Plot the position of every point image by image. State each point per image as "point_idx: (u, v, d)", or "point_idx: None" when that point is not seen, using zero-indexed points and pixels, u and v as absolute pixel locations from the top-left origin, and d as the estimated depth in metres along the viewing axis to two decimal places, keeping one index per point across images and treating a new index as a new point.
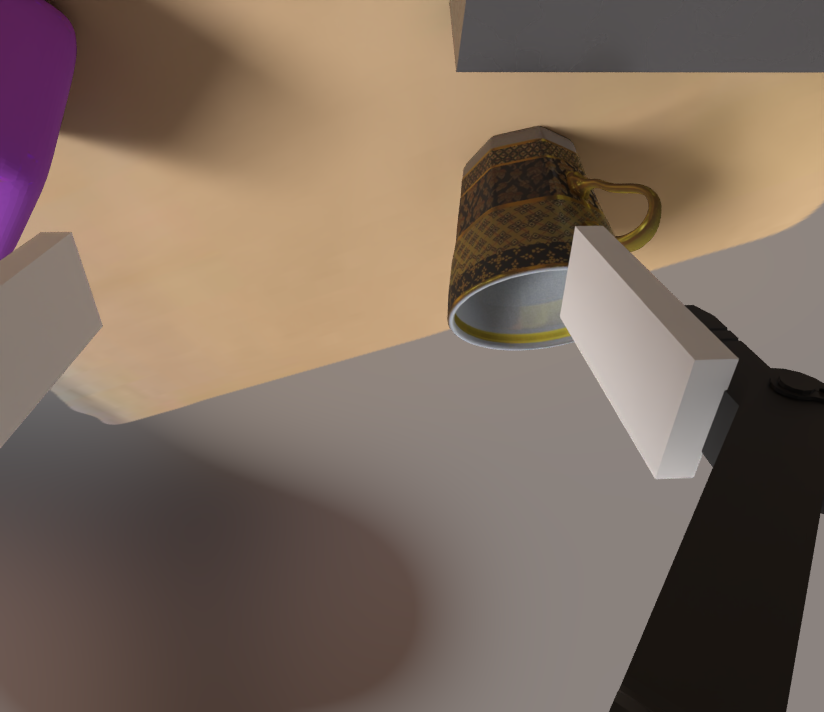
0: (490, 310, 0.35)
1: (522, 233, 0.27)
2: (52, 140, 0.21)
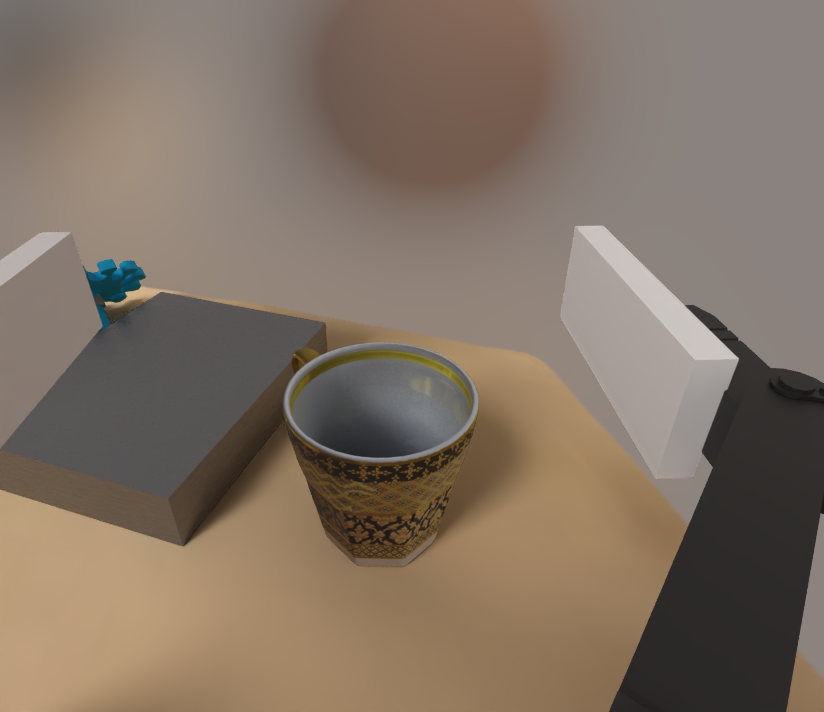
0: None
1: None
2: None
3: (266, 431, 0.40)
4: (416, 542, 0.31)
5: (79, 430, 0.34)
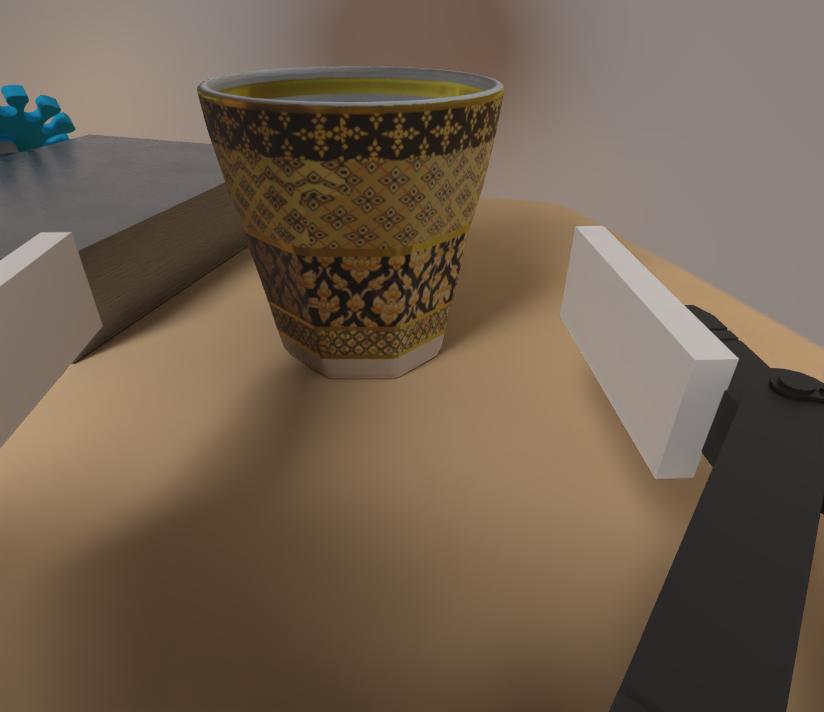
0: None
1: None
2: None
3: (210, 256, 0.30)
4: (413, 333, 0.21)
5: None
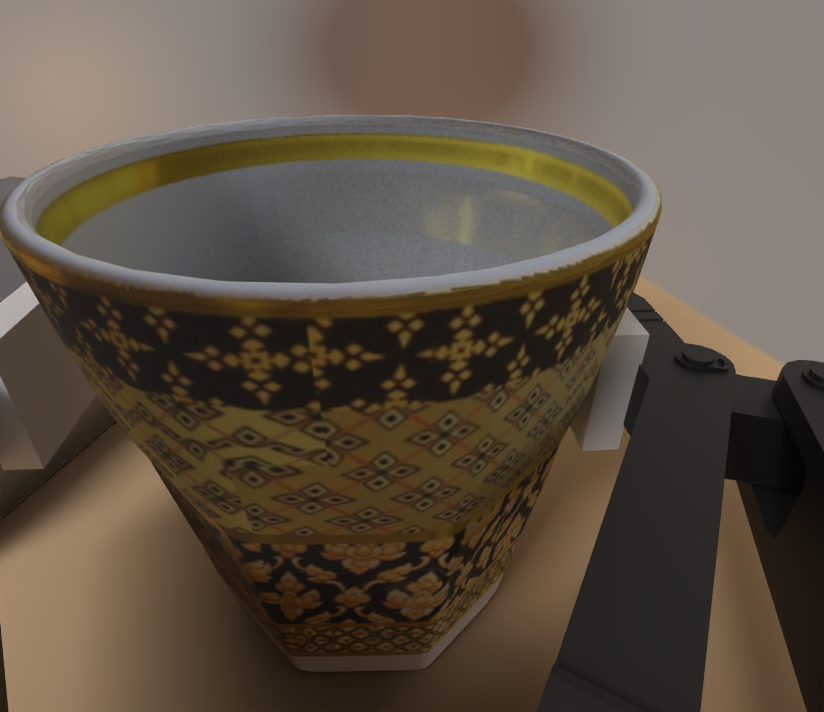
0: None
1: None
2: None
3: None
4: (458, 608, 0.11)
5: None
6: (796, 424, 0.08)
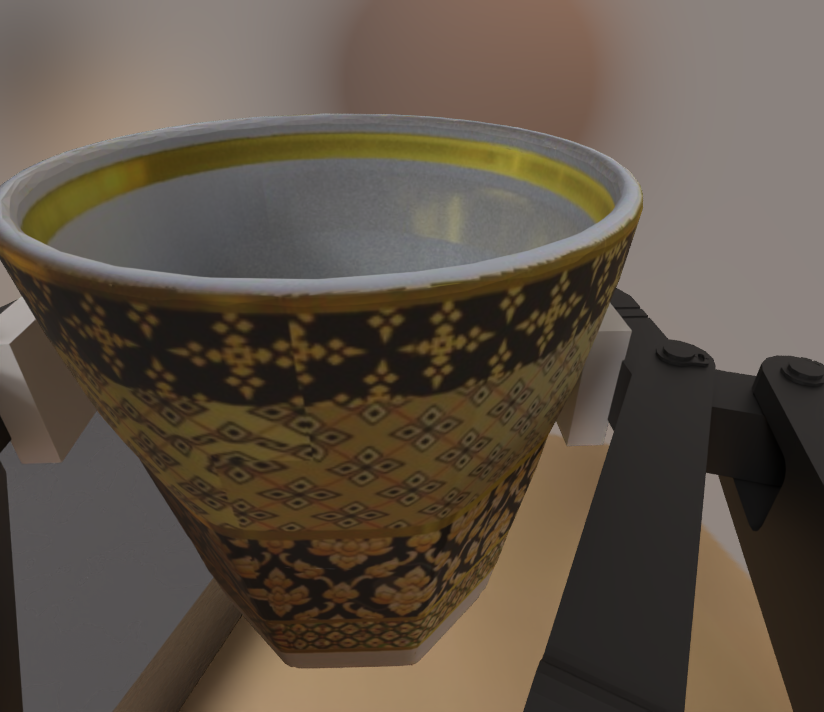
0: None
1: None
2: None
3: None
4: (447, 603, 0.11)
5: None
6: (773, 418, 0.08)
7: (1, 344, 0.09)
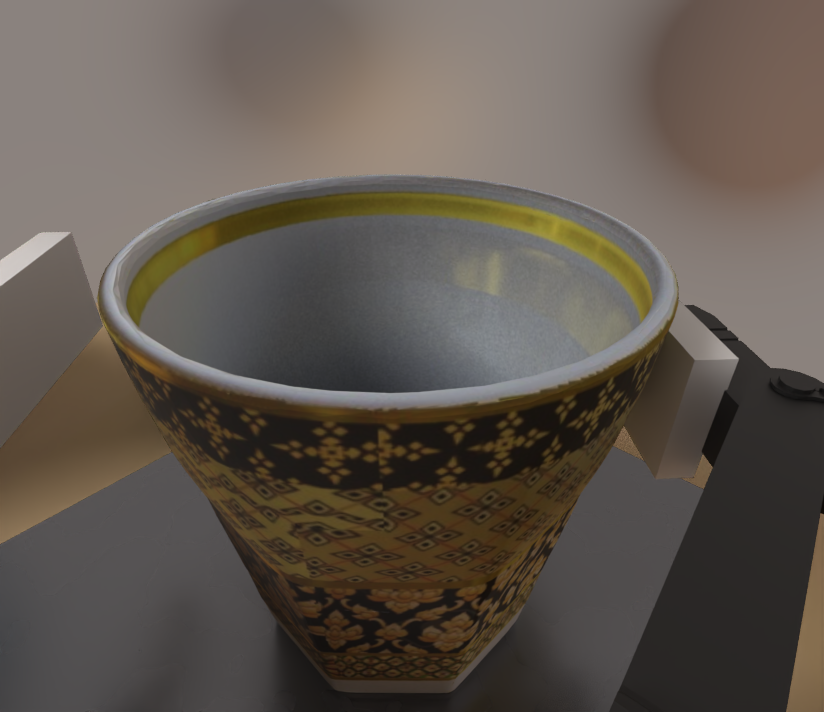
0: None
1: None
2: None
3: None
4: (484, 639, 0.12)
5: None
6: None
7: None
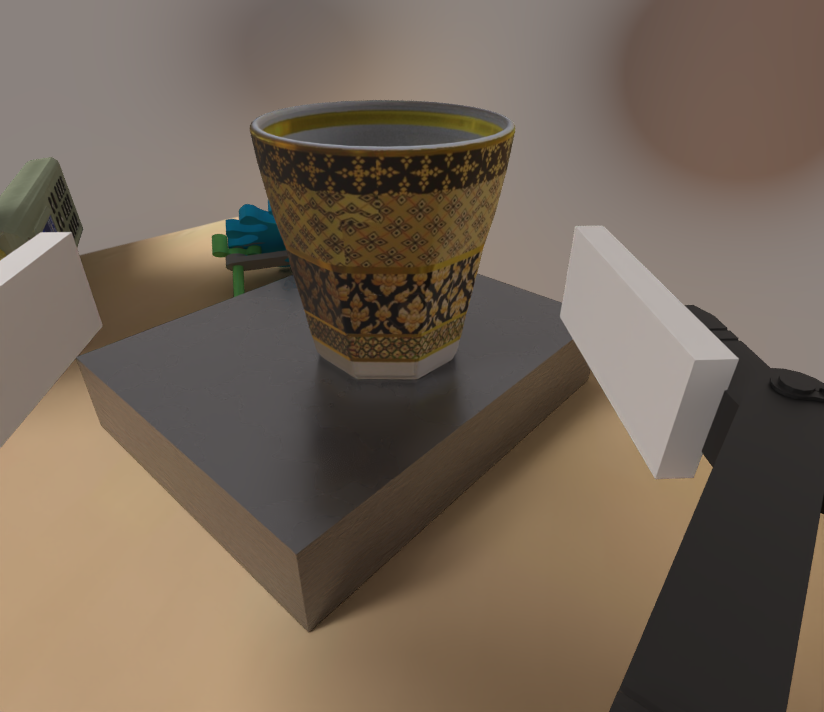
0: None
1: None
2: None
3: (480, 465, 0.24)
4: (433, 339, 0.23)
5: (220, 394, 0.23)
6: None
7: None
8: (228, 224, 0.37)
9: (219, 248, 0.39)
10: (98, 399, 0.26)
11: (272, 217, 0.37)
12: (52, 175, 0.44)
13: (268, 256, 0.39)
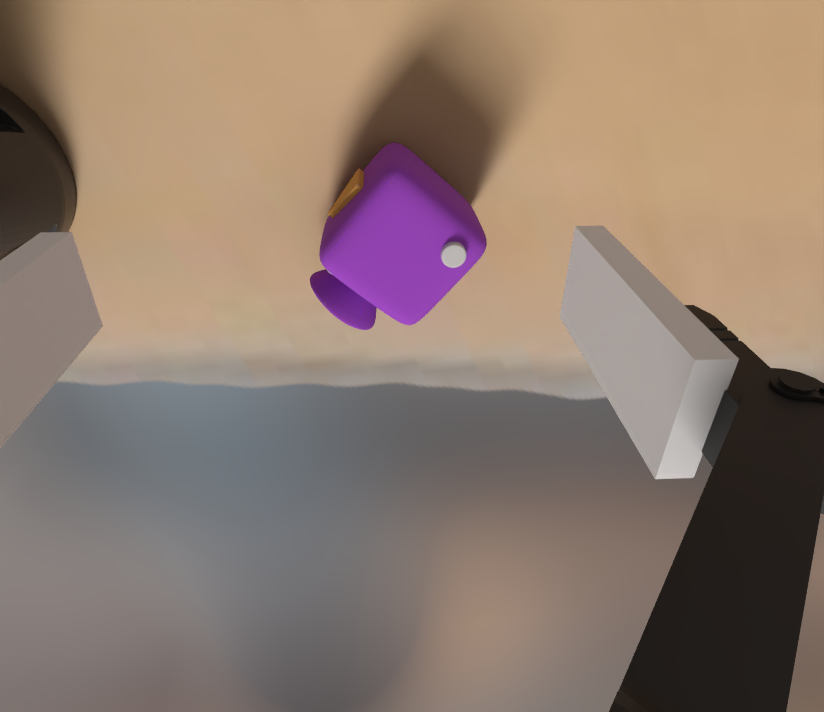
0: None
1: None
2: (400, 158, 0.38)
3: None
4: None
5: None
6: None
7: None
8: None
9: None
10: None
11: None
12: None
13: None
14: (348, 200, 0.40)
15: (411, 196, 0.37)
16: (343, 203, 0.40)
